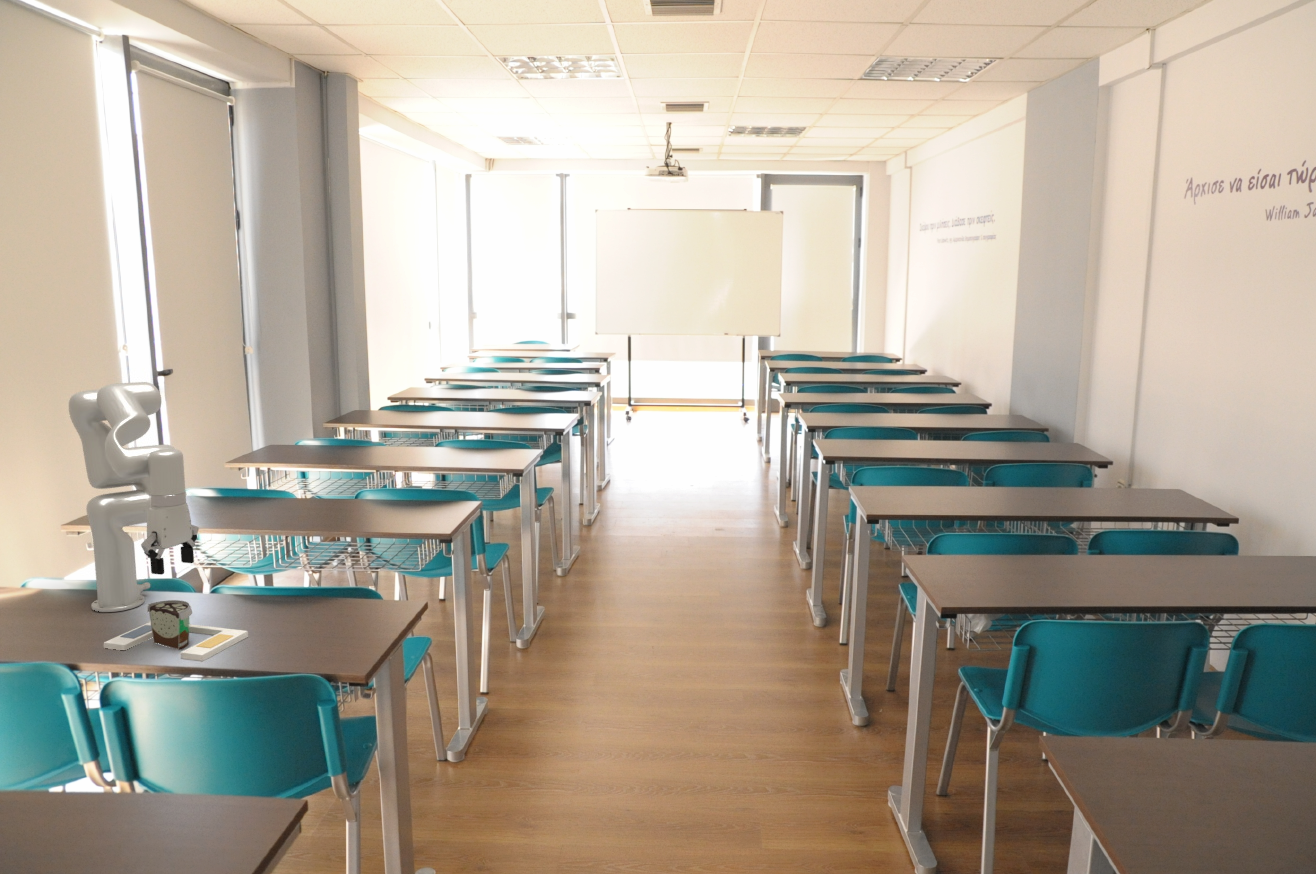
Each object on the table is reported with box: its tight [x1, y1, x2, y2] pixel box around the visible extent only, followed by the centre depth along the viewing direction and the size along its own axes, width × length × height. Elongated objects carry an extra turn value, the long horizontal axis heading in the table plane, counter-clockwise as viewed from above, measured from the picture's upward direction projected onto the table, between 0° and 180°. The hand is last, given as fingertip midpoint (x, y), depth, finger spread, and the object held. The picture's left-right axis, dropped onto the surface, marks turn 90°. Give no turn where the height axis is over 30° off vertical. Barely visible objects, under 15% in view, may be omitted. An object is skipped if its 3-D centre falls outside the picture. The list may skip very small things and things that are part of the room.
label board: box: [103, 621, 249, 662], centre depth 219 cm, size 16×28×2 cm, turn 77°
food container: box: [146, 599, 193, 651], centre depth 218 cm, size 12×6×10 cm, turn 65°
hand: (173, 568), depth 216 cm, fingers open, 9 cm apart
